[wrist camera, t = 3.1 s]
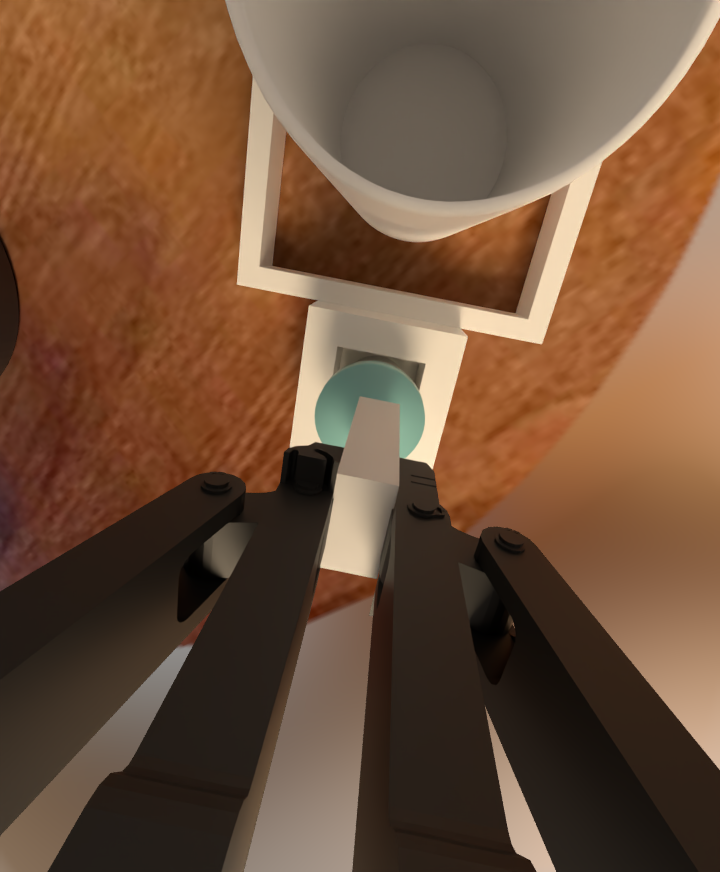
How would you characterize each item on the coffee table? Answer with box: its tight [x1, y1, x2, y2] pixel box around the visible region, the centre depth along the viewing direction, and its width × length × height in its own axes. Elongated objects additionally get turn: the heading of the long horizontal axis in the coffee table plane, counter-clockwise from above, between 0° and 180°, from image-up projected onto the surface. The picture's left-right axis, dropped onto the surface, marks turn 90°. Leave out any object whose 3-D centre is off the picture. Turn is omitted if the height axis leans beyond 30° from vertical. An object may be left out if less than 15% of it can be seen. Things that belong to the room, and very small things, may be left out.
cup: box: [225, 0, 720, 242], centre depth 14 cm, size 8×8×16 cm
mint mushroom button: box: [315, 356, 425, 459], centre depth 20 cm, size 4×4×5 cm
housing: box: [237, 77, 602, 469], centre depth 21 cm, size 15×22×5 cm
